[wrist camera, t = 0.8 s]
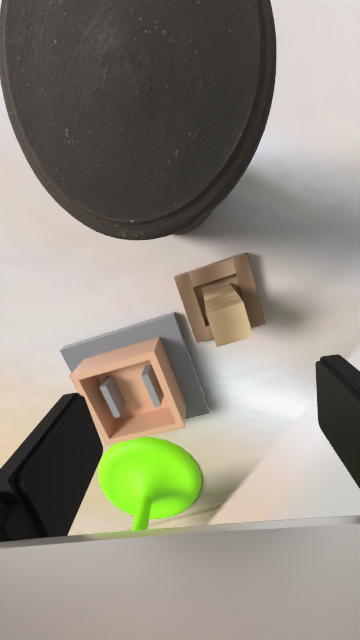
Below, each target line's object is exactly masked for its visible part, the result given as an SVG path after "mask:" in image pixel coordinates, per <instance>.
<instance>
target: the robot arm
mask: <svg viewBox="0 0 360 640" xmlns="http://www.w3.org/2000/svg"><path fill="white" fill-rule="evenodd" d="M316 384H317V406H318V421H319V426H320V428H321V430H322V432H323V433H324V435H325V436H326V438H327V439H328V441H329V442H330V444H331V445H332V447H333V449H334V450H335V452H336V453H337V454H338V456H339V458H340V459H341V461H342V462H343V464H344V465H345V467H346V468H347V470H348V472H349V473H350V475H351V476H352V478H353V479H354V480H355V482H356V484H357V485H358V487H359V488H360V371H359V370H357V369H356V368H355V367H354V366H352V365H351V364H350V363H349V362H348V361H346V360H345V359H344V358H343V357H341V356H340V355H330V356H323V357H321V358H320V361H317V362H316ZM102 453H103V446H102V443H101V440H100V438H99V435H98V432H97V429H96V427H95V424H94V421H93V419H92V416H91V413H90V410H89V408H88V405H87V402H86V400H85V397H84V396H81V395H80V394H79V393H71V394H65V395H63V396H62V397H61V398H60V399H59V400H58V402H57V403H56V404H55V405H54V406H53V408H52V409H51V410H50V411H49V412H48V413H47V415H46V416H45V417H44V418H43V419H42V421H41V422H40V423H39V424H38V425H37V426H36V428H35V429H34V430H33V431H32V432H31V433H30V435H29V436H28V437H27V438H26V439H25V441H24V442H23V443H22V444H21V445H20V446H19V448H18V449H17V450H16V451H15V452H14V454H13V455H12V456H11V457H10V458H9V459H8V461H7V462H6V463H5V464H4V465H3V467H2V468H1V469H0V640H360V515H358V516H337V517H320V518H304V519H290V520H276V521H260V522H245V523H232V524H218V525H203V526H189V527H175V528H162V529H149V530H135V531H122V532H110V533H97V534H85V535H72V536H67V535H68V533H69V530H70V528H71V526H72V523H73V521H74V519H75V516H76V514H77V512H78V509H79V507H80V505H81V503H82V500H83V498H84V496H85V493H86V491H87V489H88V486H89V484H90V482H91V479H92V477H93V475H94V473H95V470H96V468H97V466H98V463H99V461H100V459H101V456H102Z"/></svg>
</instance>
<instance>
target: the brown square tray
mask: <svg viewBox="0 0 360 640" xmlns="http://www.w3.org/2000/svg"><path fill="white" fill-rule="evenodd" d="M174 279H175V282H176V285H177V287H178V290H179V293H180V296H181V299H182V302H183V305H184V308H185V310H186V313H187V316H188V319H189V322H190V325H191V328H192V331H193V334H194V336H195V339H196V342H197V343H199V342H203V341H206V340H210V339H213V338H214V337H213V334H212V330H211V327H210V324H209V321H208V318H207V315H206V309H205V302H204V294H203V291H204V290H207V289H210V288H213V287H216V286H219V285H222V284H226V283H230V284H231V286H232V287H233V288H234V290H235V291H236V293H237V294H238V295H239V297H240V298H241V299H242V301H243V302H244V306H245V309H246V313H247V316H248V320H249V324H250V327H255V326H258V325H262V324H265V321H264V317H263V313H262V309H261V305H260V301H259V297H258V293H257V289H256V285H255V282H254V278H253V274H252V270H251V266H250V262H249V258H248V254H247V253H242V254H239V255H236V256H233V257H230V258H227V259H224V260H221V261H218V262H215V263H212V264H209V265H206V266H203V267H200V268H198V269H195V270H192V271H189V272H186V273H183V274H180V275H177V276H175V277H174Z"/></svg>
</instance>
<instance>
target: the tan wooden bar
mask: <svg viewBox="0 0 360 640" xmlns="http://www.w3.org/2000/svg"><path fill="white" fill-rule="evenodd" d="M203 294H204V302H205V309H206V315H207V318H208V321H209V324H210V327H211V330H212V334H213V337H214V340H215V343H216V346H217V347H218V346H222V345H226V344H229V343H233V342H236V341H240V340H243V339H247V338H250V337H253V335H252V331H251V327H250V324H249V320H248V316H247V313H246V309H245V306H244V302H243V301H242V299H241V298H240V297H239V295H238V294H237V293H236V291H235V290H234V288H233V287H232V286H231V284H230V283H226V284H222V285H219V286H216V287H213V288H210V289H207V290H204V291H203Z"/></svg>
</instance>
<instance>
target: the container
mask: <svg viewBox="0 0 360 640" xmlns="http://www.w3.org/2000/svg"><path fill="white" fill-rule="evenodd" d="M275 76H276V33H275V25H274V18H273V12H272V7H271V2H270V0H2V3H1V10H0V79H1V86H2V91H3V96H4V100H5V104H6V108H7V112H8V116H9V119H10V122H11V125H12V128H13V130H14V133H15V135H16V138H17V140H18V142H19V144H20V147H21V149H22V151H23V153H24V155H25V157H26V159H27V161H28V163H29V165H30V166H31V168H32V170H33V172H34V173H35V175H36V176H37V178H38V179H39V181H40V182H41V184H42V185H43V186H44V188H45V189H46V190H47V192H48V193H49V194H50V195H51V196H52V197H53V198H54V200H55V201H56V202H57V203H58V204H59V205H60V206H61V207H62V208H63V209H65V210H66V211H67V212H68V213H69V214H70V215H72V216H73V217H74V218H75V219H77V220H78V221H80V222H81V223H83V224H84V225H86V226H87V227H89V228H91V229H93V230H95V231H96V232H99V233H102V234H104V235H107V236H110V237H114V238H119V239H126V240H149V239H156V238H161V237H165V236H168V235H171V234H182V233H186V232H189V231H191V230H193V229H195V228H196V227H198V226H199V225H200V224H201V223H202V222H203V221H204V220H205V219H206V218H207V217H208V215H209V214H210V212H211V211H212V210H213V209H214V208H215V207H216V206H217V205H218V204H219V203H221V202H222V201H223V200H224V199H225V198H226V197H227V195H228V194H229V193H230V192H231V191H232V189H233V188H234V187H235V185H236V184H237V183H238V181H239V180H240V178H241V177H242V175H243V174H244V172H245V170H246V169H247V167H248V165H249V163H250V162H251V160H252V158H253V156H254V154H255V152H256V150H257V147H258V145H259V142H260V140H261V138H262V135H263V133H264V130H265V126H266V123H267V120H268V116H269V112H270V108H271V103H272V98H273V93H274V86H275Z"/></svg>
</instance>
